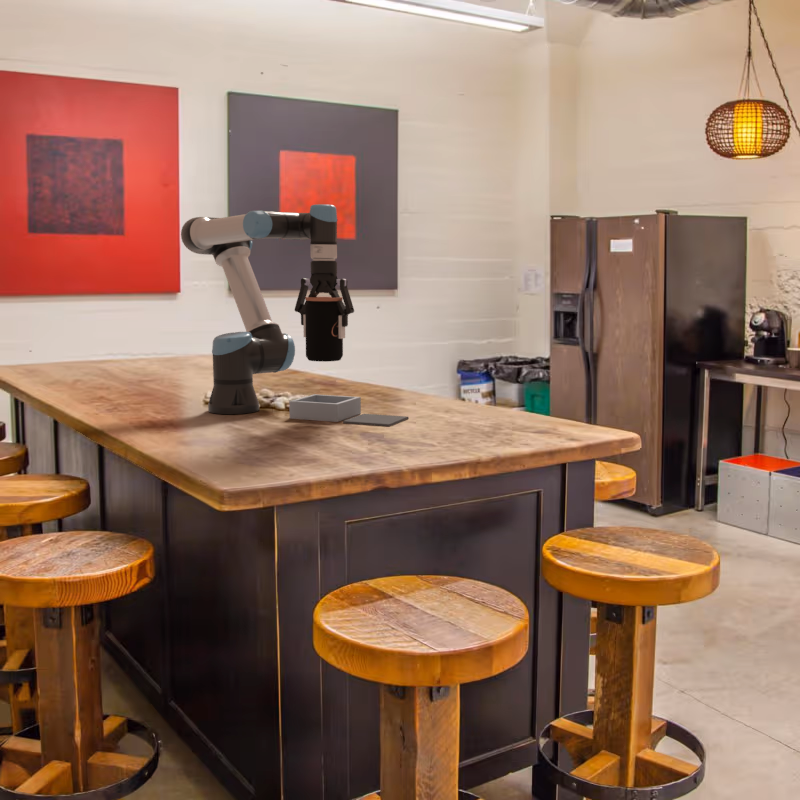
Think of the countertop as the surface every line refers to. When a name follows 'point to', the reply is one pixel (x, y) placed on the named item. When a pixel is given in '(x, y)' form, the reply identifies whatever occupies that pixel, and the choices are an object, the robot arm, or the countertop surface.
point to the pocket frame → (325, 407)
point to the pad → (375, 419)
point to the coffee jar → (323, 329)
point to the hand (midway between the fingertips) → (324, 337)
